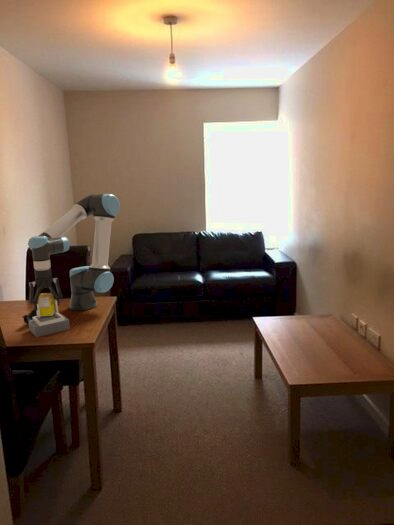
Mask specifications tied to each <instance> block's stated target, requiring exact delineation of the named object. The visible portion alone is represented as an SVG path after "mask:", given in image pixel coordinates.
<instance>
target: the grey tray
mask: <svg viewBox="0 0 394 525" xmlns="http://www.w3.org/2000/svg"><path fill="white" fill-rule="evenodd" d="M32 319H33V320H30V321H29V324H28V327H29V332H30V333H31V334H32V335H33V336H35V338H39V337H43V336H47V335H52V334H56V333H60V332H64V331H65V332H66V331H69V330H71V328H70V320H69V318H67V317H66V316H65V315H63V314H62V313H59V312H58V313H56V314H55V315H54V316H53V317H46V318H40V317H38V316H34V317H32Z"/></svg>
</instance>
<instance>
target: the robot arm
mask: <svg viewBox="0 0 394 525" xmlns="http://www.w3.org/2000/svg"><path fill="white" fill-rule="evenodd" d="M120 211H121V204H120V200H119V199H118V197H117V196H116V195H114V194H111V193H97V194H96V193H91V194H89V195H85V196H84V197H83V198H81V199H79V200H78V201H76V202H75V203H74V204H73V205H72V208H71V209H70V210H68V212H66V213H64V215H63V216H61V217H60V218H59V219H58V220H56V221H55V222H54V223H52V224H51V225H49V227H48V228H46V229H45V230H44V231H43V232H41V234H39V235H38V236H36V235H35V236H31V237H30V238H29V239H28V242H27V243H28V244H27V245H28V248H29V250H31V253H32V261H33V262H32V263H33V269H34V281H32V282H28V286H29V295H28V302H29V303H30V304H32V305H33V310H36V311H37V316H38V317H40V310H39V304H38V298H39V295H40V294H41V291H42V290H43V289H45V288H46V289H47V288H48V289H49V290H50V293H53V295H54V303H55V311H56V313H59V306H60V299H62V298H63V293H62V289H61V287H60V286H61V285H60V278H58V277H54V278H53V275H52V274H53V273H52V269H51V268H52V267H51V266H52V265H51V258H50V256H51V255H52V256H53V255H55V254H60V253H64V252H68V251H69V250H70V246H71V245H70V244H71V243H70V240H69V239H68V238H67V237H66V236H64V235H65V234H66V233H67V232H68V231H70V230H71V229H73V227H74V226H75V225H77V224H78V223H79V222H80V221H81V220H85V219H86V218H89V217H90V216H92V218H93V219H94V221H95V225H94V226H95V227H94V237H93V249H92V260H91V264H90V265H85V266H79V267H74V268H71V269H70V270H69V281H70V291H71V296H70V301H69V309H70V310H72V311H86V310H87V311H88V310H91V309H94V308H96V307H97V305H98V303H97V302H98V301H97V299H96V297H95V295H94V292H96V293H107V292H108V291H110V289H111V288H112V287H113V284H114V282H115V281H114V280H115V277H114V275H113V273H112V272H111V267H110V266H109V264H108V263H109V258H110V257H109V254H110V244H111V242H110V241H111V232H112V222H114V221H115V220H116V218H115V217H116V216H117V215H118V214H119V213H120ZM52 283H54V285H55V288H56V291H57V293H56V291H55V289H54V287H53V286H52ZM35 286H37V287H36V290H35ZM34 290H35V292H34ZM34 294H35V295H34Z"/></svg>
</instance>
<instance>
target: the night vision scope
mask: <svg viewBox="0 0 394 525" xmlns="http://www.w3.org/2000/svg"><path fill="white" fill-rule="evenodd" d="M34 316H37V311H36V310H34V309H32V310H31V311H30V312H29V313H28V314H24V315H23V316H22V317H21V319H23V321H24V324H26V325H29V321H30V320H33V319H32V317H34Z"/></svg>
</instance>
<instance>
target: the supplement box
mask: <svg viewBox="0 0 394 525" xmlns="http://www.w3.org/2000/svg"><path fill="white" fill-rule="evenodd" d="M54 299H55V297H54V295H53V293H52V292H42V293H41V292H40V295H39V298H38V301H37V303H38V304H39V310H40V318H46V317H53V316H54V315H55V314H56V311H55V303H54Z"/></svg>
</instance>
